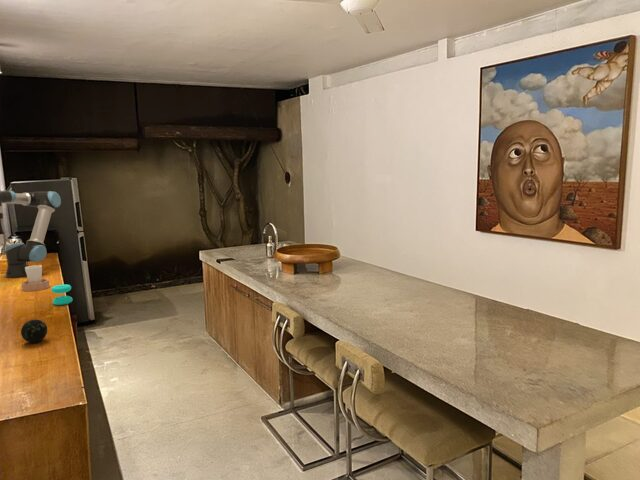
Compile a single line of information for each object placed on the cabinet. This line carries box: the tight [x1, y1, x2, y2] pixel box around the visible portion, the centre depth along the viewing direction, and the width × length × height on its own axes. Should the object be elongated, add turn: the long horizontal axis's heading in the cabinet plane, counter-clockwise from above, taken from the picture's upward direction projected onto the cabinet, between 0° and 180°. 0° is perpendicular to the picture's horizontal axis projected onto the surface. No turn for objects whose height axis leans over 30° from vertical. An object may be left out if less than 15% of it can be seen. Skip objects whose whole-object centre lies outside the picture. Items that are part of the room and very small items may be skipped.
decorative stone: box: [20, 319, 48, 344], centre depth 216 cm, size 10×10×10 cm
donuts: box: [50, 284, 74, 306], centre depth 277 cm, size 10×10×10 cm
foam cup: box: [25, 264, 43, 284], centre depth 313 cm, size 10×9×13 cm
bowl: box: [21, 278, 50, 292], centre depth 314 cm, size 15×15×4 cm
